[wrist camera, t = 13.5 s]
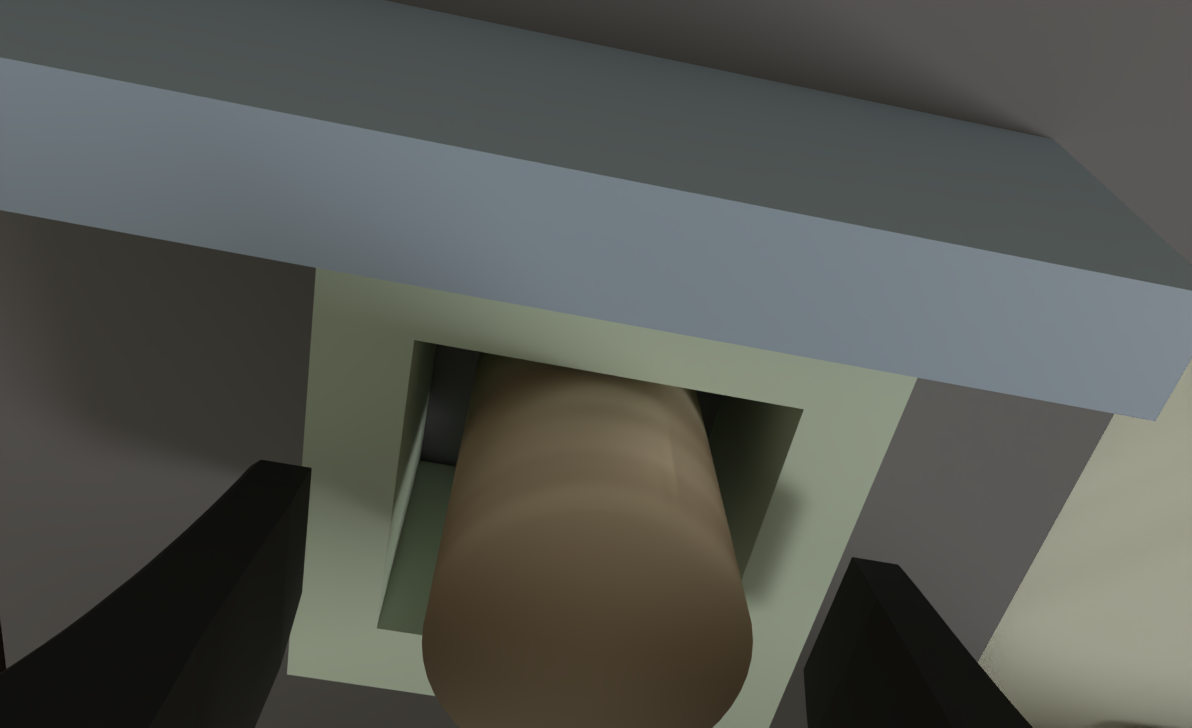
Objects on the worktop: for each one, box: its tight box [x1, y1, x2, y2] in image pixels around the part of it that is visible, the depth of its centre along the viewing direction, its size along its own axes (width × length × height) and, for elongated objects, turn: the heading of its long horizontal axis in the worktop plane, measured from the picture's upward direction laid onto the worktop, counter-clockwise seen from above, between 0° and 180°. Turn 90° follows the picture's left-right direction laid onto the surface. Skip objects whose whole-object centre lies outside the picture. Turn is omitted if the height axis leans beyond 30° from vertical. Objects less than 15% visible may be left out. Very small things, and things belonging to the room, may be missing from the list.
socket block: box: [287, 268, 917, 728], centre depth 16 cm, size 7×7×4 cm
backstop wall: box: [0, 0, 1192, 421], centre depth 13 cm, size 14×2×5 cm, turn 79°
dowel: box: [422, 352, 753, 728], centre depth 14 cm, size 3×3×7 cm
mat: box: [0, 0, 1192, 728], centre depth 19 cm, size 19×24×1 cm
